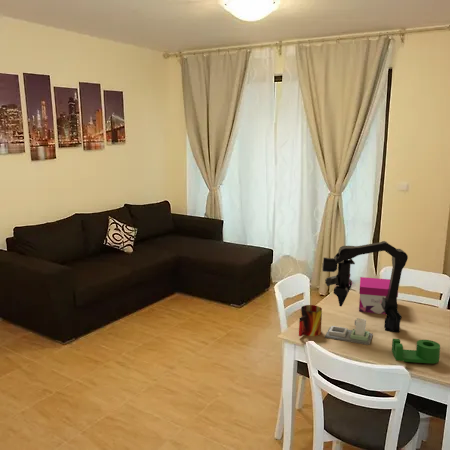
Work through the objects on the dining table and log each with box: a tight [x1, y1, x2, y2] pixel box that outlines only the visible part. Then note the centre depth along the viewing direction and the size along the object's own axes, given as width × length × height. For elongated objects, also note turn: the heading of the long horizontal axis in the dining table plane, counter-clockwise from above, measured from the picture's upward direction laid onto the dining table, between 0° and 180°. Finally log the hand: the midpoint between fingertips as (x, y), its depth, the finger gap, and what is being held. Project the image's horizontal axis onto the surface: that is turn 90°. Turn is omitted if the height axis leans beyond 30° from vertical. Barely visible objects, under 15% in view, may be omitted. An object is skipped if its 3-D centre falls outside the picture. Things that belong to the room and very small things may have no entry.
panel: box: [324, 325, 374, 346], centre depth 213 cm, size 20×12×2 cm, turn 66°
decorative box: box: [358, 276, 399, 316], centre depth 247 cm, size 19×19×15 cm
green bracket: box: [391, 338, 441, 364], centre depth 191 cm, size 18×9×6 cm, turn 81°
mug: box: [298, 304, 323, 337], centre depth 215 cm, size 10×14×12 cm
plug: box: [354, 317, 367, 336], centre depth 210 cm, size 5×4×8 cm
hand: (342, 303), depth 222 cm, fingers open, 9 cm apart
